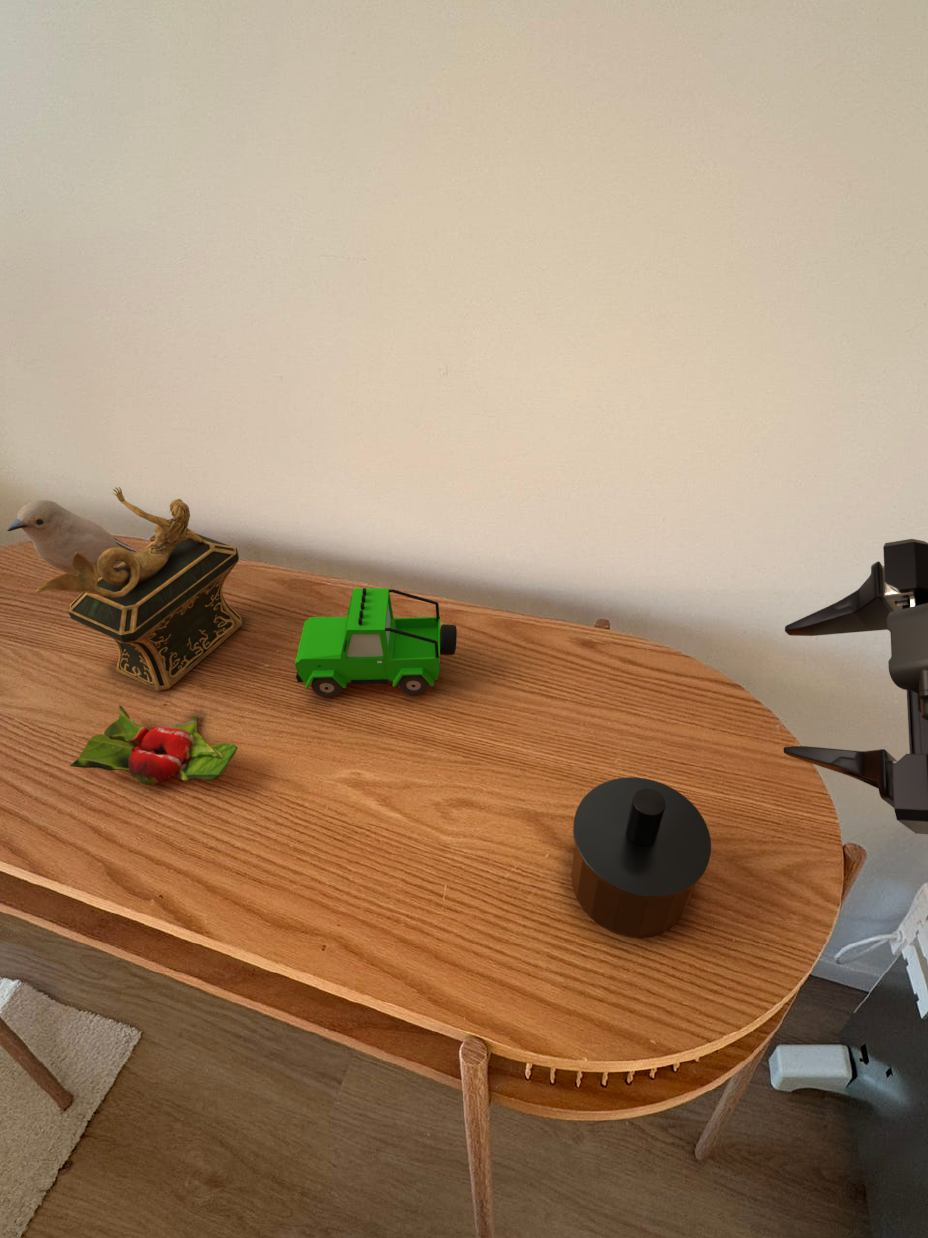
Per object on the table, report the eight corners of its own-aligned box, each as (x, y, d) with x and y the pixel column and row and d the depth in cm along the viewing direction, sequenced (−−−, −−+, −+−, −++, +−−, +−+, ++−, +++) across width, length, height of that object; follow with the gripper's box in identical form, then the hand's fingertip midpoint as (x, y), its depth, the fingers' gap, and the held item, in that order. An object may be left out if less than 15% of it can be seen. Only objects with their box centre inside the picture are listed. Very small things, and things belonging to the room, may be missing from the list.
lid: (729, 827, 59) (744, 787, 55) (673, 931, 52) (686, 894, 49) (611, 764, 64) (618, 725, 60) (547, 853, 57) (551, 815, 54)
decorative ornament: (65, 764, 69) (123, 682, 76) (91, 790, 73) (144, 709, 79) (203, 787, 65) (251, 698, 72) (223, 813, 68) (267, 726, 75)
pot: (707, 869, 63) (724, 823, 58) (657, 962, 57) (671, 920, 52) (605, 812, 67) (614, 765, 63) (550, 893, 62) (554, 848, 57)
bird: (43, 613, 91) (-12, 511, 81) (135, 559, 99) (95, 460, 89) (66, 628, 89) (13, 525, 79) (158, 571, 97) (120, 471, 87)
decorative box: (202, 593, 93) (155, 454, 80) (260, 616, 89) (221, 474, 76) (71, 696, 80) (-10, 550, 67) (133, 727, 76) (60, 580, 63)
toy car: (310, 648, 85) (295, 580, 78) (457, 644, 85) (455, 576, 78) (299, 702, 79) (281, 633, 72) (458, 698, 79) (455, 629, 72)
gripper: (1025, 473, 41) (747, 527, 51) (1065, 811, 35) (738, 795, 45) (1046, 556, 48) (800, 589, 59) (1083, 846, 42) (799, 826, 52)
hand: (785, 689), depth 53 cm, fingers open, 9 cm apart
